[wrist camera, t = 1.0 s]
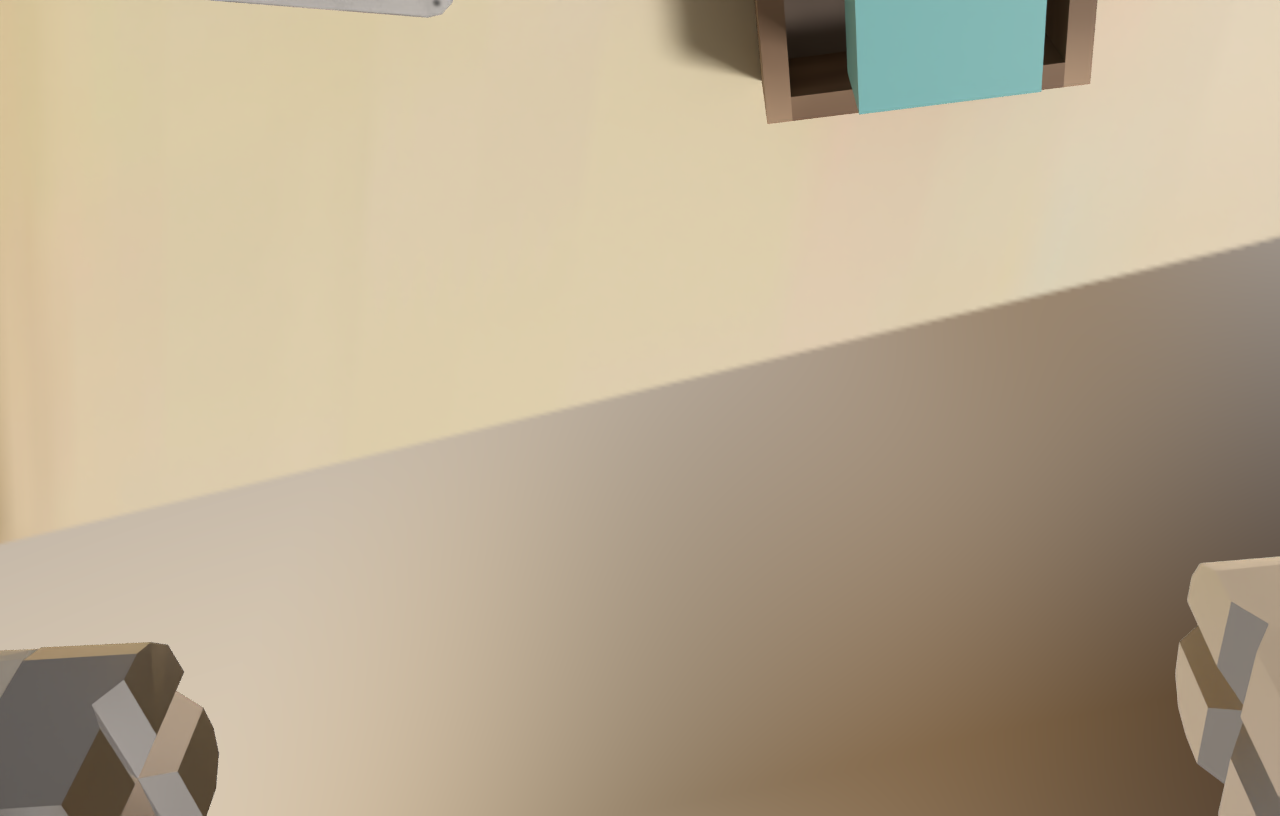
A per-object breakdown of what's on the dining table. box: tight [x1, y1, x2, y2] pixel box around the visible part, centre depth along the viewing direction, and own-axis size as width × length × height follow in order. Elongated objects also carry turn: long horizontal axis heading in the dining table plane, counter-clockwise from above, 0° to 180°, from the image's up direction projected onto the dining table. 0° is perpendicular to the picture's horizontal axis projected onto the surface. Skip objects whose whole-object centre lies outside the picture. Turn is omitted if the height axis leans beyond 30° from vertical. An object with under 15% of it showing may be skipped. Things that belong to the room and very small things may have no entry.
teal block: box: [845, 0, 1047, 114], centre depth 34 cm, size 4×5×4 cm
